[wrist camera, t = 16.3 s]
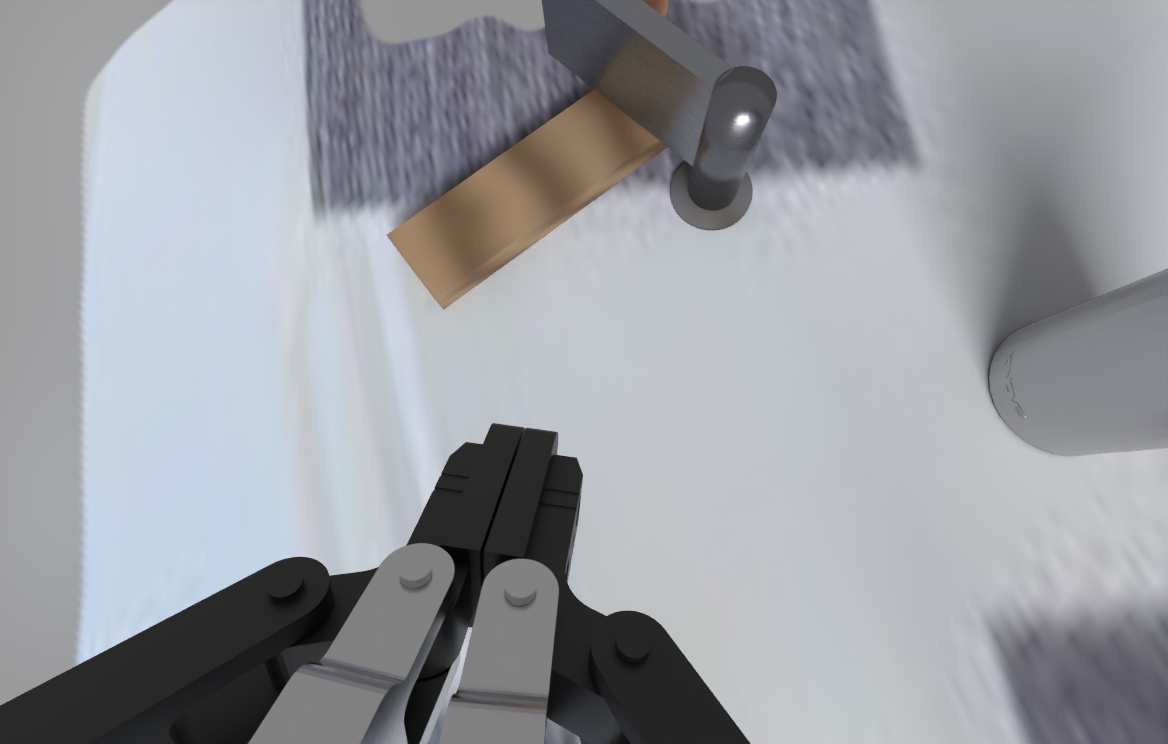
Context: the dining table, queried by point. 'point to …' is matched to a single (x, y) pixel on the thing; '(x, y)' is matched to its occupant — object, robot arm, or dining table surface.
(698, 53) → the bar
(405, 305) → the dining table surface
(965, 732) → the dining table surface
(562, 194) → the door edge
